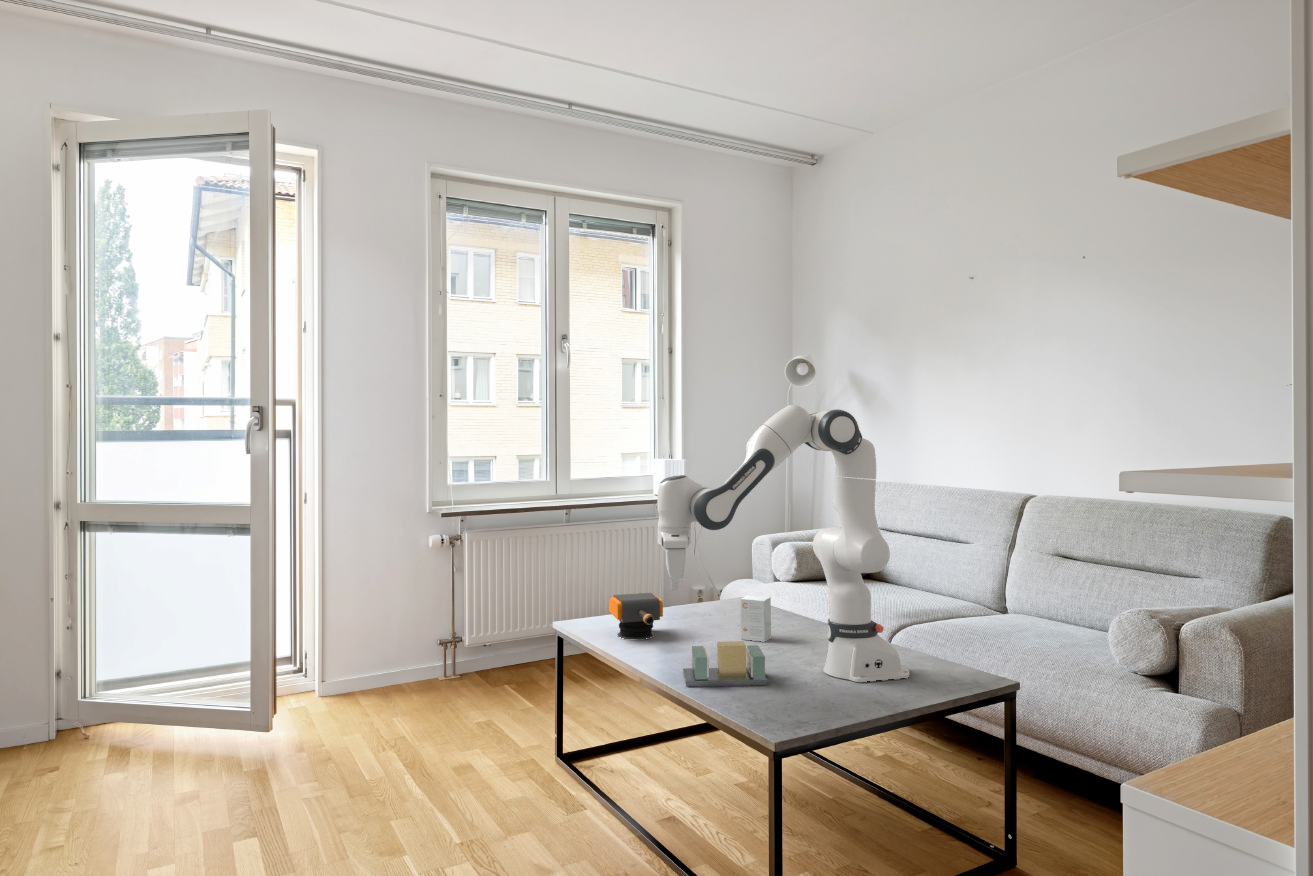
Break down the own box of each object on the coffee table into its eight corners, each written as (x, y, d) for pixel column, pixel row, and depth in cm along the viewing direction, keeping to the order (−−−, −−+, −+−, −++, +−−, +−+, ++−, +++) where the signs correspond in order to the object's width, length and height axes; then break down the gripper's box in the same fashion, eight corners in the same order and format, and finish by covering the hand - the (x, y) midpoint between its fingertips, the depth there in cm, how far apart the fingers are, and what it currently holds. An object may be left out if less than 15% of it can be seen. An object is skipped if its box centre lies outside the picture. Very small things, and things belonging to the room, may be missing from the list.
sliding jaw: (705, 667, 226) (704, 646, 226) (709, 679, 215) (708, 657, 215) (692, 667, 226) (692, 646, 226) (695, 679, 215) (695, 657, 215)
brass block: (717, 671, 223) (717, 641, 223) (743, 671, 223) (743, 641, 223) (719, 676, 218) (719, 646, 218) (745, 676, 218) (745, 645, 218)
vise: (760, 672, 226) (759, 645, 226) (766, 685, 215) (766, 656, 215) (683, 674, 226) (682, 646, 225) (685, 686, 215) (685, 657, 214)
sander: (626, 651, 249) (626, 609, 249) (608, 631, 273) (608, 593, 273) (673, 647, 253) (673, 605, 253) (651, 628, 277) (651, 590, 277)
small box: (771, 638, 263) (771, 596, 263) (764, 642, 258) (764, 600, 258) (747, 635, 267) (747, 594, 267) (740, 639, 261) (740, 598, 261)
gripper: (660, 532, 230) (660, 582, 230) (663, 542, 209) (664, 597, 210) (683, 532, 230) (683, 581, 230) (688, 542, 210) (689, 597, 210)
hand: (674, 589), depth 220 cm, fingers closed
